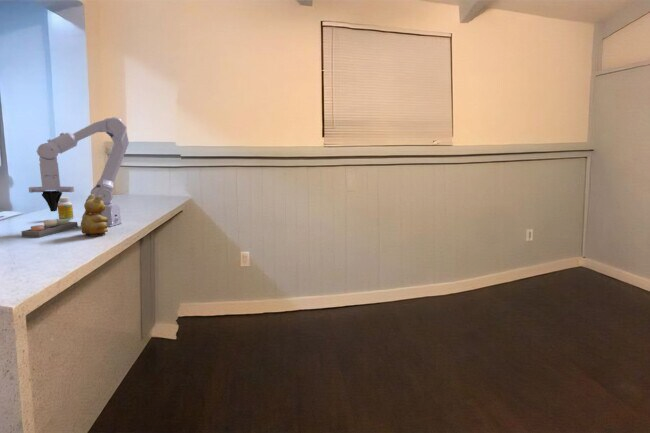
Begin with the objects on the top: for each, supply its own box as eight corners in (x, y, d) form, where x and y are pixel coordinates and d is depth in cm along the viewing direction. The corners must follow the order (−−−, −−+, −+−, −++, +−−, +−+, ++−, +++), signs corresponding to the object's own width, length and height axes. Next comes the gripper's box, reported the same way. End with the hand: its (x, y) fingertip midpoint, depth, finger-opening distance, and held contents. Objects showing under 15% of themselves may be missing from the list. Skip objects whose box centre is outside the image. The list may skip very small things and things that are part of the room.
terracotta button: (47, 230, 147) (46, 225, 146) (38, 233, 143) (37, 227, 142) (37, 230, 147) (36, 225, 147) (28, 232, 143) (27, 227, 143)
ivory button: (59, 224, 152) (59, 219, 152) (51, 226, 148) (50, 221, 148) (50, 224, 153) (49, 219, 152) (41, 226, 149) (41, 221, 149)
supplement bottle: (66, 220, 172) (64, 198, 170) (56, 220, 173) (53, 198, 171) (76, 218, 177) (74, 196, 175) (66, 217, 178) (63, 196, 176)
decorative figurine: (113, 234, 147) (109, 194, 145) (92, 239, 140) (88, 196, 137) (95, 231, 151) (92, 192, 149) (74, 236, 144) (70, 195, 141)
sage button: (71, 224, 158) (71, 219, 158) (64, 226, 154) (63, 221, 154) (62, 223, 159) (62, 219, 159) (54, 225, 155) (54, 220, 155)
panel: (77, 226, 160) (77, 221, 159) (39, 237, 142) (38, 232, 141) (62, 226, 161) (61, 221, 160) (22, 236, 142) (21, 231, 142)
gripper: (75, 174, 155) (78, 209, 157) (33, 174, 152) (38, 209, 155) (67, 176, 148) (71, 211, 151) (24, 176, 145) (28, 212, 148)
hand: (53, 211), depth 152 cm, fingers closed
